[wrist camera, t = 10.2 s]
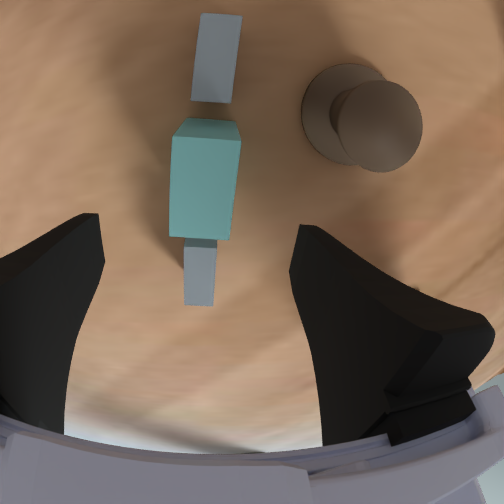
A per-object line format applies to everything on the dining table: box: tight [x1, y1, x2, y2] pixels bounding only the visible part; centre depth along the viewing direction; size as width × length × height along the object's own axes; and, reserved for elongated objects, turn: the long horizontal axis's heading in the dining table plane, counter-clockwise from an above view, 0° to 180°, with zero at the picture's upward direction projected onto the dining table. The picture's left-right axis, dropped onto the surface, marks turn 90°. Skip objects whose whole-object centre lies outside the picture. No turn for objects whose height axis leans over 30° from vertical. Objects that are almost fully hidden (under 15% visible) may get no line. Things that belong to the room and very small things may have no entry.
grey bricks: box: [184, 13, 243, 306], centre depth 17 cm, size 18×2×4 cm, turn 173°
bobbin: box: [301, 64, 423, 172], centre depth 16 cm, size 7×7×4 cm
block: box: [169, 118, 242, 240], centre depth 16 cm, size 5×3×6 cm, turn 172°
